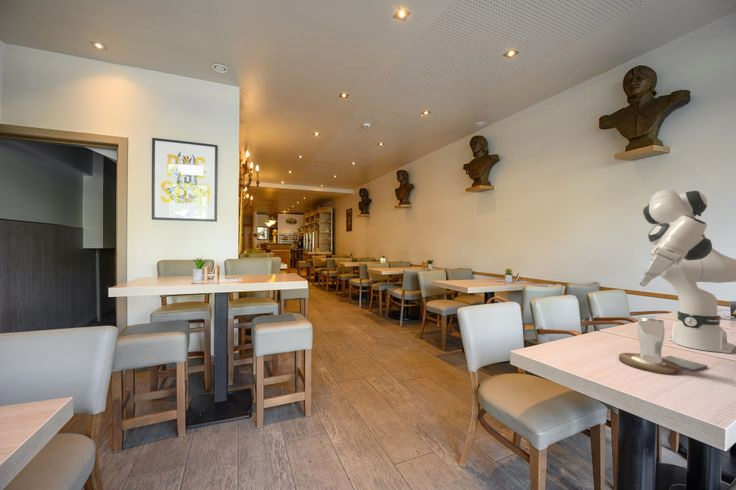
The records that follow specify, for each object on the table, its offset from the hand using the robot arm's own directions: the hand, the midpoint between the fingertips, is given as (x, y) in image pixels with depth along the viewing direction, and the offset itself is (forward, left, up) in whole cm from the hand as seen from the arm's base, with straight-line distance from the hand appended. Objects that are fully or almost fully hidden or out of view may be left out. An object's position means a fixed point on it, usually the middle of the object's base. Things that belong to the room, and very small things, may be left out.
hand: (642, 285), depth 115 cm
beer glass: (+10, +7, -26) cm, 29 cm away
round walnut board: (+10, +6, -28) cm, 30 cm away
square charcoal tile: (-2, +10, -28) cm, 30 cm away
